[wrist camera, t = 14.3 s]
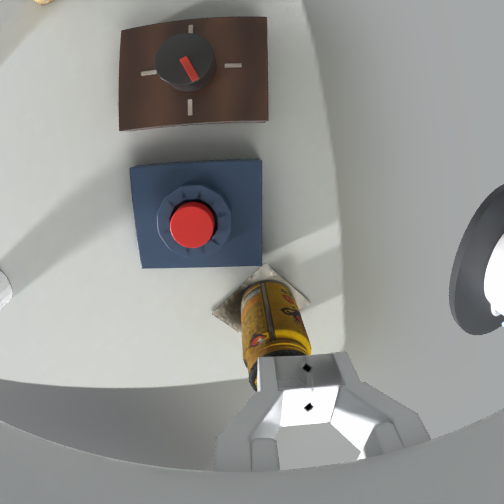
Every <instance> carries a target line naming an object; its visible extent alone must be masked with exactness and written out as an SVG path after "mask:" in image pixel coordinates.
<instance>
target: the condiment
mask: <svg viewBox="0 0 504 504" xmlns="http://www.w3.org/2000/svg"><path fill="white" fill-rule="evenodd" d="M309 303H310V302H309V301H308V300H307V299H306V298H305V297H304V296H303V295H301V294H300V293H299V292H298V291H297V290H296V289H295V288H294V287H293V286H291V285H290V284H289V283H288V282H287V281H286V280H284V279H283V278H282V277H281V276H280V275H279V274H278V273H276V272H275V271H274V270H273V269H272V268H271V267H269V266H268V265H267V264H266V263H265V264H263V265H262V266H261V267H260V268H259V269H258V270H257V271H256V272H255V273H254V274H253V275H252V276H251V277H250V278H249V279H247V280H246V281H245V282H244V283H243V284H242V285H241V286H240V287H239V288H238V289H237V290H236V291H235V292H234V293H233V294H232V295H231V296H230V297H229V298H228V299H227V300H226V301H225V302H223V304H222V305H221V306H220V307H219V308H218V309H217V310H215V311H214V312H213V313H212V314H213V315H214V316H215V317H217V318H219V319H220V320H222V321H223V322H225V323H226V324H227V325H229V326H230V327H232V328H233V329H234V330H236V331H237V332H239V333H240V334H241V335H242V346H243V360H244V363H245V365H246V367H247V369H248V372H249V382H250V384H251V386H252V387H253V389H254V390H255V391H256V392H257V371H258V357H274V356H306V355H311V345H310V341H309V339H308V335H307V333H306V330H305V327H304V324H303V321H302V318H301V315H300V312H299V311H301V310H302V309H303V308H304V307H305V306H306V305H308V304H309Z"/></svg>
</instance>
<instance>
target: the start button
mask: <svg viewBox="0 0 504 504" xmlns="http://www.w3.org/2000/svg"><path fill="white" fill-rule="evenodd" d="M214 225H215V220H214V216H213V213H212V211H211V210H210V209H209V208H208V207H207V206H206V205H204V204H202V203H200V202H188V203H185V204H183V205H182V206H180V207H179V208H178V210H177V211H176V212H175V213H174V215H173V216H172V219H171V222H170V230H171V234H172V236H173V238H174V239H175V240H176V241H177V242H178V243H179V244H181V245H182V246H185V247H188V248H197V247H200V246H202V245H204V244H206V243H207V242H208V241H209V239H210V238H211V236H212V233H213V229H214Z"/></svg>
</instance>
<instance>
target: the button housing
mask: <svg viewBox="0 0 504 504" xmlns="http://www.w3.org/2000/svg"><path fill="white" fill-rule="evenodd" d="M130 180H131V191H132V201H133V210H134V219H135V227H136V234H137V242H138V249H139V255H140V261H141V268H192V267H231V266H262V160H260V159H226V160H202V161H185V162H171V163H158V164H147V165H137V166H134V167H131V168H130ZM188 202H200V203H202V204H204V205H206V206H207V207H208V208H209V209H210V210H211V211H212V213H213V216H214V220H215V225H214V229H213V233H212V236H211V238H210V239H209V241H208V242H207V243H206V244H204V245H202V246H200V247H197V248H188V247H185V246H182V245H181V244H179V243H178V242H177V241H176V240H175V239H174V238H173V236H172V234H171V230H170V222H171V219H172V216H173V215H174V213H175V212H176V211H177V210H178V208H179V207H180V206H182V205H183V204H185V203H188Z"/></svg>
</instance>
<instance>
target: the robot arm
mask: <svg viewBox="0 0 504 504" xmlns="http://www.w3.org/2000/svg"><path fill="white" fill-rule="evenodd" d="M484 292H485V296H486V298H487V300H488V301H489V302H490V304H491V312H492V314H493V315H495V316H498V315H500V314H503V315H504V234H503V235H502V237H501V238H500V239H499V241H498V243H497V244H496V246H495V248H494V250H493V252H492V254H491V257H490V259H489V262H488V265H487V269H486V273H485V279H484ZM502 325H503V326H504V322H503V323H502ZM324 422H330V423H331V424H332V425H333V426H334V427H335V428H336V429H338V431H339V432H341V433H342V434H343V435H344V436H345V437H346V438H347V439H348V440H349V441H350V442H352V444H353V445H355V446H356V447H357V448H358V449H359V450H360V451H361V453H360V455H359V457H358V459H357V460H354V461H350V462H344V463H338V464H332V465H326V466H319V467H310V468H301V469H292V470H291V469H290V470H280V465H279V457H278V449H277V441H276V440H274V437H275V436H276V434H277V432H278V431H279V429H280V427H283V426H293V425H302V424H312V423H324ZM215 442H216V443H215V455H214V468H213V471H199V470H186V469H175V468H166V467H158V466H152V465H145V464H139V463H132V462H128V461H122V460H117V459H113V458H109V457H104V456H100V455H96V454H92V453H88V452H84V451H81V450H77V449H74V448H71V447H67V446H64V445H61V444H58V443H55V442H52V441H49V440H46V439H43V438H41V437H38V436H35V435H33V434H30V433H28V432H25V431H22V430H20V429H18V428H16V427H13V426H11V425H8V424H6V423H4V422H2V421H0V504H504V408H503V409H501V410H499V411H498V412H496V413H494V414H492V415H490V416H487V417H486V418H483V419H481V420H479V421H477V422H475V423H472V424H470V425H468V426H466V427H463V428H461V429H458V430H456V431H454V432H451V433H448V434H445V435H443V436H440V437H438V438H435V439H432V440H431V438H430V436H429V434H428V432H427V430H426V428H425V426H424V425H423V423H422V421H421V419H420V417H419V415H418V413H416V412H414V411H412V410H411V409H409V408H407V407H406V406H404V405H402V404H401V403H399V402H397V401H395V400H394V399H392V398H390V397H389V396H387V395H385V394H384V393H382V392H380V391H379V390H377V389H376V388H374V387H372V386H371V385H369V384H367V383H366V382H362V383H361V381H360V379H359V377H358V375H357V373H356V370H355V368H354V366H353V364H352V362H351V360H350V357H349V355H348V354H347V352H345V351H344V352H336V353H329V354H318V355H306V356H274V357H258V371H257V392H255V393H254V394H253V396H251V398H250V399H249V400H248V401H247V402H246V404H245V405H244V406H243V407H242V408H241V409H240V411H239V412H238V413H237V414H236V415H235V416H234V417H233V419H232V420H231V421H230V422H229V423H228V424H227V425H226V427H225V428H224V429H223V430H222V431H221V432H220V433H219V434H218V435H217V436H216V441H215Z"/></svg>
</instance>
